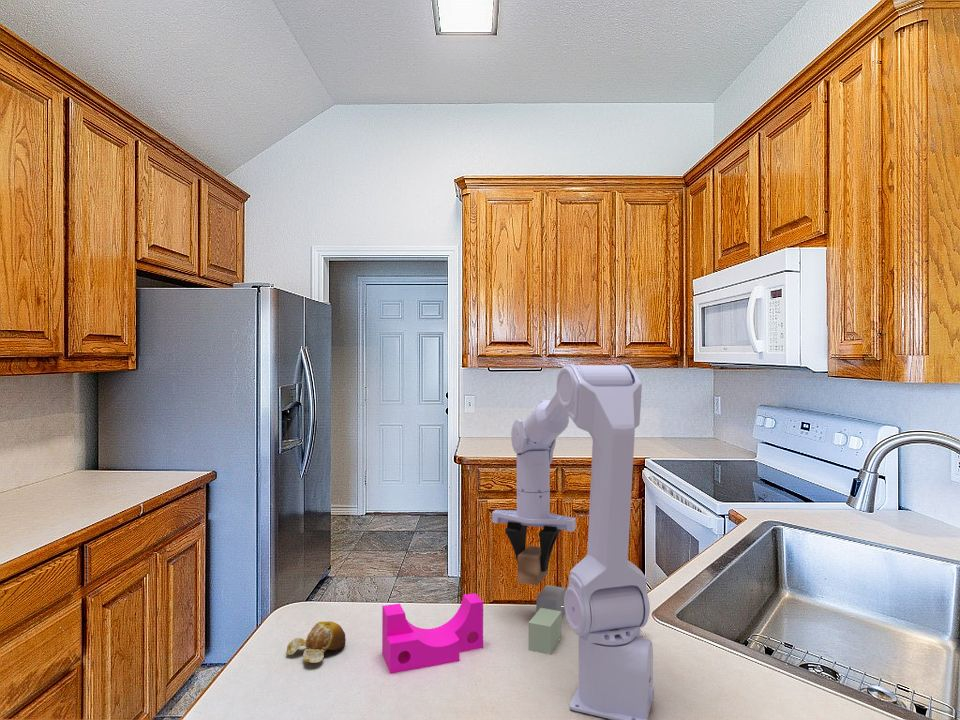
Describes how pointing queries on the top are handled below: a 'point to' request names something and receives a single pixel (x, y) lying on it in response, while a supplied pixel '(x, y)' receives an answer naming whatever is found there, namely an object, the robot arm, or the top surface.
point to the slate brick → (551, 599)
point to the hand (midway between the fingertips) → (533, 568)
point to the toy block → (430, 637)
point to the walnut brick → (530, 566)
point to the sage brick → (544, 630)
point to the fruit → (319, 641)
